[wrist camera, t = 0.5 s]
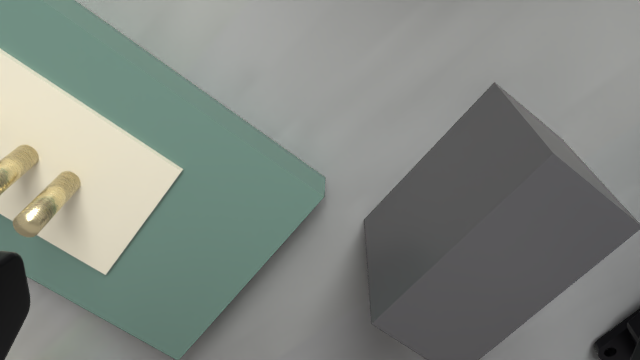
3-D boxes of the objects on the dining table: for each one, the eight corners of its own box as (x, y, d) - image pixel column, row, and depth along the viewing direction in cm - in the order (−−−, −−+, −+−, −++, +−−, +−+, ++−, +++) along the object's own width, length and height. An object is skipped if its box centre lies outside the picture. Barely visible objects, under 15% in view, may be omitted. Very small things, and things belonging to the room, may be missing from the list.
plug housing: (494, 82, 19) (553, 153, 14) (562, 139, 20) (642, 226, 15) (364, 219, 22) (371, 324, 17) (428, 264, 23) (456, 378, 17)
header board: (325, 177, 21) (324, 199, 20) (186, 336, 25) (176, 364, 23) (-155, -162, 17) (-205, -168, 15) (-236, 93, 20) (-282, 109, 19)
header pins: (84, 180, 20) (44, 224, 17) (74, 195, 20) (32, 241, 17) (-24, 112, 19) (-86, 148, 16) (-33, 130, 19) (-95, 168, 16)
